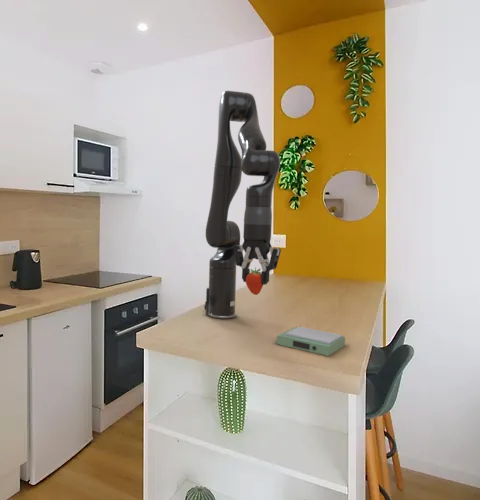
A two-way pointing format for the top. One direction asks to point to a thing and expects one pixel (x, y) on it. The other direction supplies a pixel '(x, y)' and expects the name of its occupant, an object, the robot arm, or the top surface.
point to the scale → (311, 340)
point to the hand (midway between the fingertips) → (255, 282)
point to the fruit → (254, 281)
